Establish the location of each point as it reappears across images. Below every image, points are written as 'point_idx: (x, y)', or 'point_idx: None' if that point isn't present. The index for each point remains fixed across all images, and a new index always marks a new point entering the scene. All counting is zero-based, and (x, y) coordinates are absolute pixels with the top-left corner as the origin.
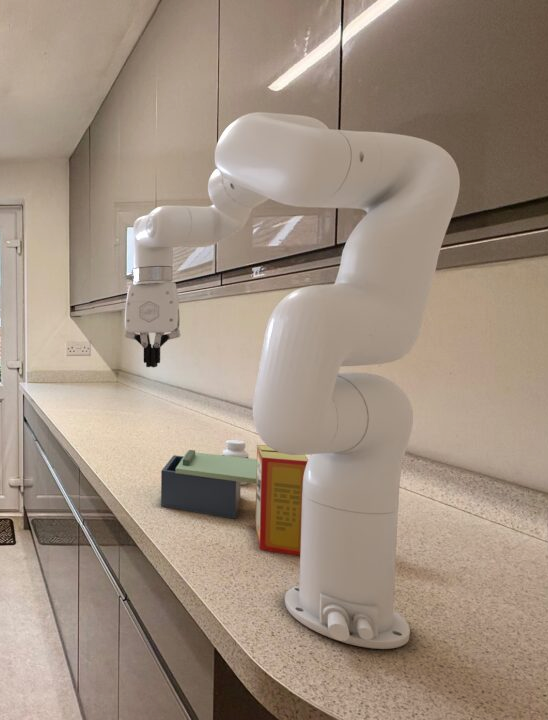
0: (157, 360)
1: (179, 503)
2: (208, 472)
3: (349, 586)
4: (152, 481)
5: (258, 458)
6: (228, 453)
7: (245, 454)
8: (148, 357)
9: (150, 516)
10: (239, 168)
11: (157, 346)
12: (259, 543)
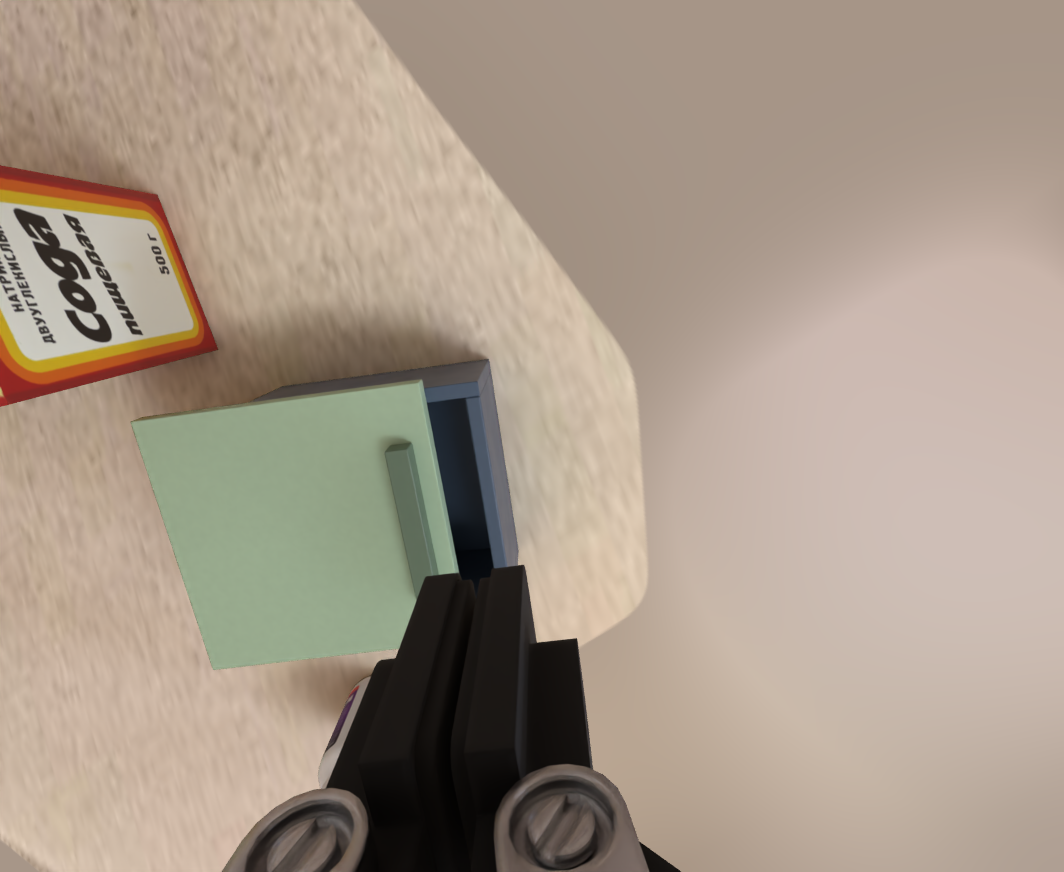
0: (389, 667)
1: (431, 369)
2: (301, 400)
3: None
4: (593, 572)
5: (8, 320)
6: None
7: (320, 767)
8: (485, 630)
9: (484, 250)
10: None
11: (307, 832)
12: (160, 215)
